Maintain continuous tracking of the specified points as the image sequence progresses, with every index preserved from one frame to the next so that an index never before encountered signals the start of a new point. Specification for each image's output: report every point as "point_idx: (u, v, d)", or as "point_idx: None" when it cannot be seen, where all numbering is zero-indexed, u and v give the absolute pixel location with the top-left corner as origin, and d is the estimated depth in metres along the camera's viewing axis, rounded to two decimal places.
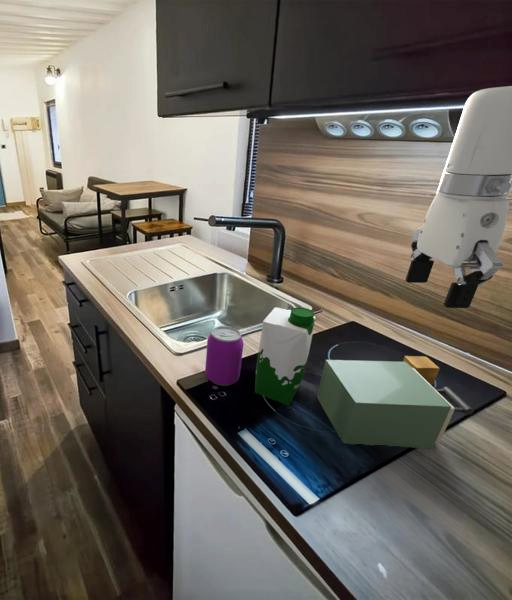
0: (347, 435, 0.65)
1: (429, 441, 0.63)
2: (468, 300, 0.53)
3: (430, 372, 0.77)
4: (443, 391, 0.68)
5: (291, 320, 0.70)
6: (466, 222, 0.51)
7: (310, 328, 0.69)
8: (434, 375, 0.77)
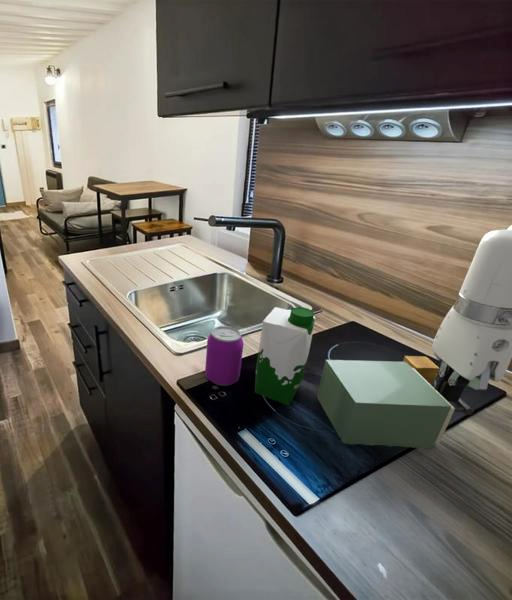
0: (347, 435, 0.65)
1: (429, 441, 0.63)
2: (457, 397, 0.64)
3: (430, 372, 0.77)
4: None
5: (291, 320, 0.70)
6: (479, 344, 0.57)
7: (310, 328, 0.69)
8: (434, 375, 0.77)
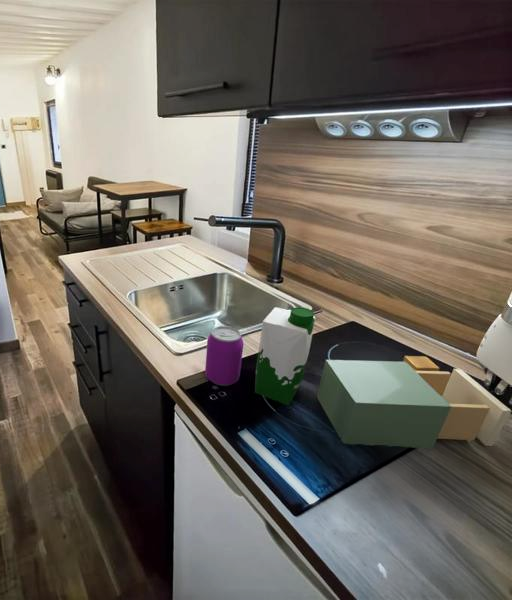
0: (347, 435, 0.65)
1: (429, 441, 0.63)
2: None
3: None
4: None
5: (291, 320, 0.70)
6: None
7: (310, 328, 0.69)
8: None
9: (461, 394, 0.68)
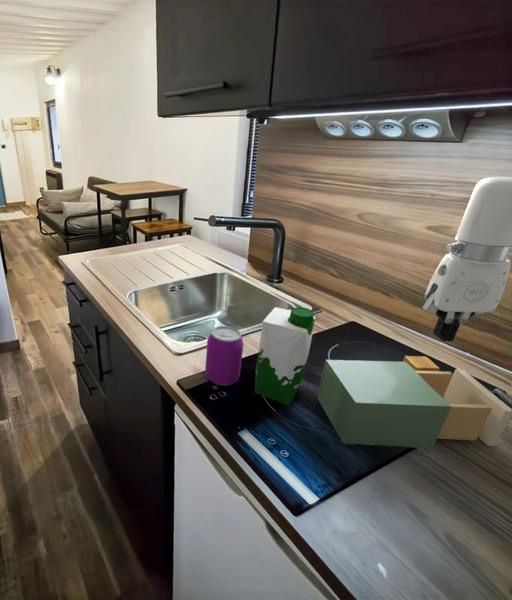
0: (347, 435, 0.65)
1: (429, 441, 0.63)
2: (439, 332, 0.72)
3: None
4: (495, 393, 0.67)
5: (291, 320, 0.70)
6: None
7: (310, 328, 0.69)
8: None
9: (463, 394, 0.68)
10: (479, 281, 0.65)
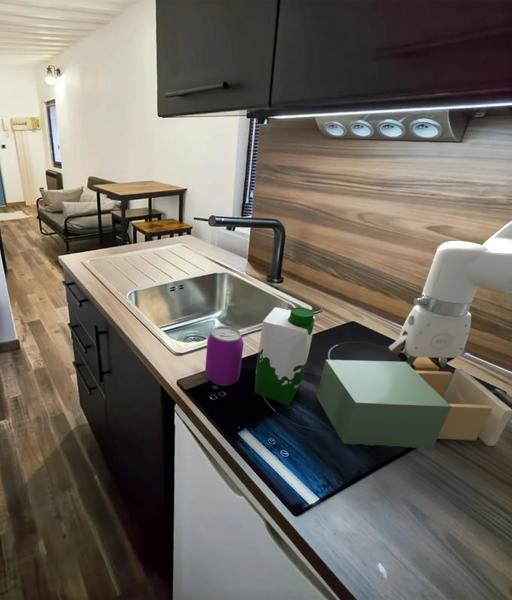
0: (347, 435, 0.65)
1: (429, 441, 0.63)
2: None
3: None
4: (495, 393, 0.67)
5: (291, 320, 0.70)
6: None
7: (310, 328, 0.69)
8: None
9: (463, 394, 0.68)
10: (443, 332, 0.72)
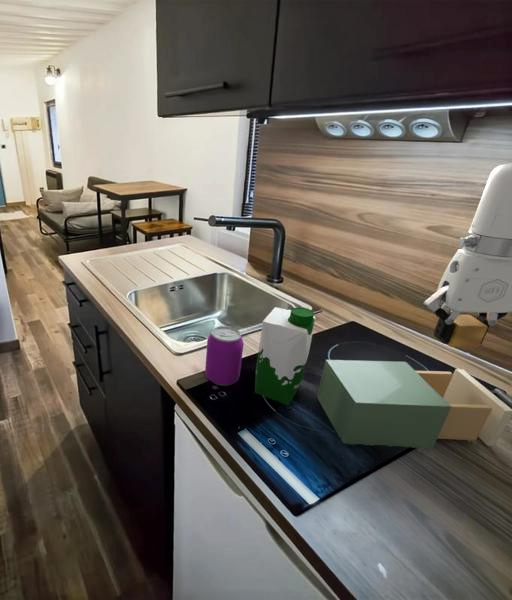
0: (347, 435, 0.65)
1: (429, 441, 0.63)
2: (439, 333, 0.66)
3: (476, 331, 0.63)
4: (495, 393, 0.67)
5: (291, 320, 0.70)
6: None
7: (310, 328, 0.69)
8: (480, 335, 0.64)
9: (463, 394, 0.68)
10: (495, 279, 0.59)
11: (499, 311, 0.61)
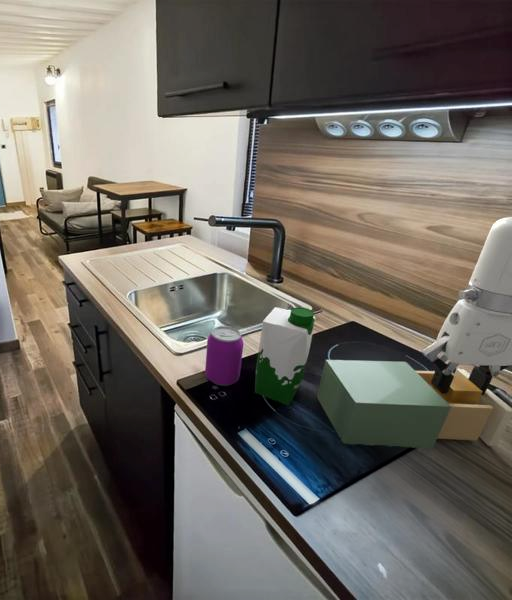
0: (347, 435, 0.65)
1: (429, 441, 0.63)
2: (437, 383, 0.64)
3: (470, 396, 0.63)
4: (496, 393, 0.67)
5: (291, 320, 0.70)
6: None
7: (310, 328, 0.69)
8: (475, 400, 0.63)
9: None
10: (497, 333, 0.57)
11: (500, 364, 0.59)
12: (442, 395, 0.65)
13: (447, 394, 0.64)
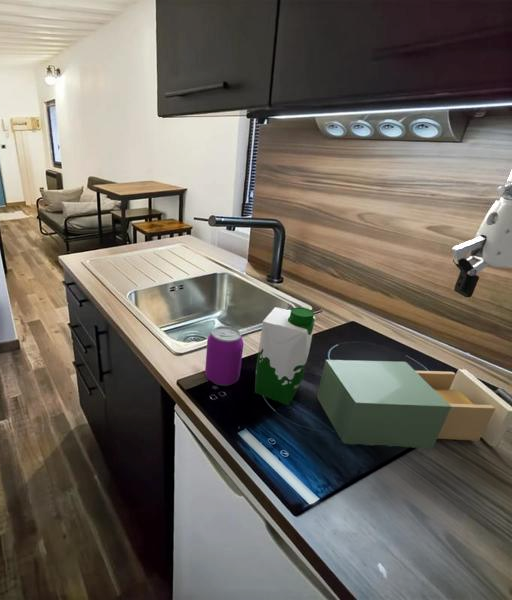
0: (347, 435, 0.65)
1: (429, 441, 0.63)
2: (461, 287, 0.62)
3: None
4: (498, 393, 0.67)
5: (291, 320, 0.70)
6: None
7: (310, 328, 0.69)
8: None
9: (466, 394, 0.68)
10: None
11: None
12: None
13: None
